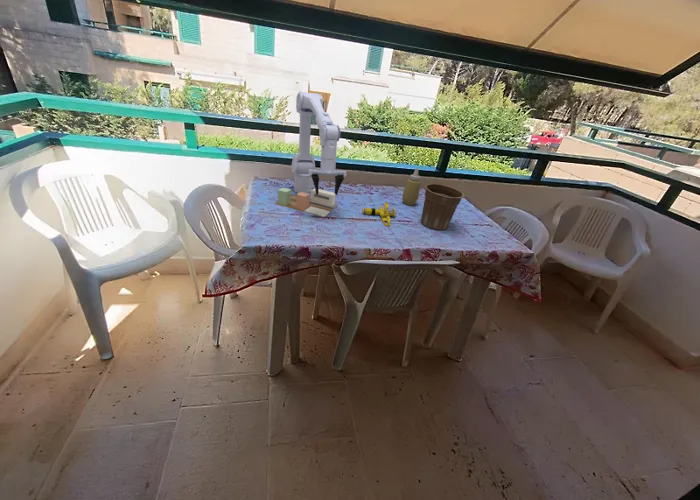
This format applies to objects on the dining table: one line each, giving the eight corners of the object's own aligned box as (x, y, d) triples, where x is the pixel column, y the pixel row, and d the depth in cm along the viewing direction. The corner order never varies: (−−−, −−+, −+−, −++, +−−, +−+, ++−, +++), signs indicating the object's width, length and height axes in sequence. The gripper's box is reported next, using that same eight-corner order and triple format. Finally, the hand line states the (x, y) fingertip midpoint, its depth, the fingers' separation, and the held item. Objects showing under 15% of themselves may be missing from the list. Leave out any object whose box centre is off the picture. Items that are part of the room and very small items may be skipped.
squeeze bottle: (413, 208, 160) (422, 172, 151) (398, 203, 163) (406, 167, 154) (418, 204, 166) (427, 169, 157) (404, 199, 169) (412, 165, 160)
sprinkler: (361, 197, 149) (393, 200, 151) (360, 205, 152) (391, 208, 153) (366, 220, 134) (401, 223, 136) (364, 228, 136) (399, 231, 138)
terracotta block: (300, 205, 140) (301, 191, 137) (308, 207, 139) (309, 194, 136) (296, 208, 137) (297, 194, 134) (304, 210, 136) (305, 196, 133)
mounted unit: (312, 199, 148) (313, 186, 145) (337, 205, 145) (338, 193, 142) (308, 202, 144) (309, 189, 141) (333, 209, 141) (334, 196, 138)
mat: (310, 207, 140) (310, 206, 139) (329, 212, 138) (329, 211, 137) (304, 211, 135) (304, 210, 134) (324, 217, 133) (324, 216, 132)
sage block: (282, 200, 142) (282, 187, 139) (290, 202, 141) (291, 189, 138) (277, 203, 138) (278, 190, 135) (285, 205, 137) (286, 192, 134)
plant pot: (459, 228, 146) (470, 193, 138) (440, 236, 135) (451, 199, 127) (429, 214, 155) (438, 181, 147) (409, 221, 144) (418, 186, 137)
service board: (290, 195, 151) (290, 193, 150) (336, 208, 146) (337, 205, 145) (274, 205, 138) (274, 203, 138) (324, 219, 133) (324, 217, 133)
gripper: (311, 159, 118) (309, 196, 124) (349, 161, 122) (346, 196, 127) (308, 156, 125) (307, 191, 130) (344, 158, 129) (342, 192, 134)
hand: (326, 193), depth 129 cm, fingers open, 7 cm apart
